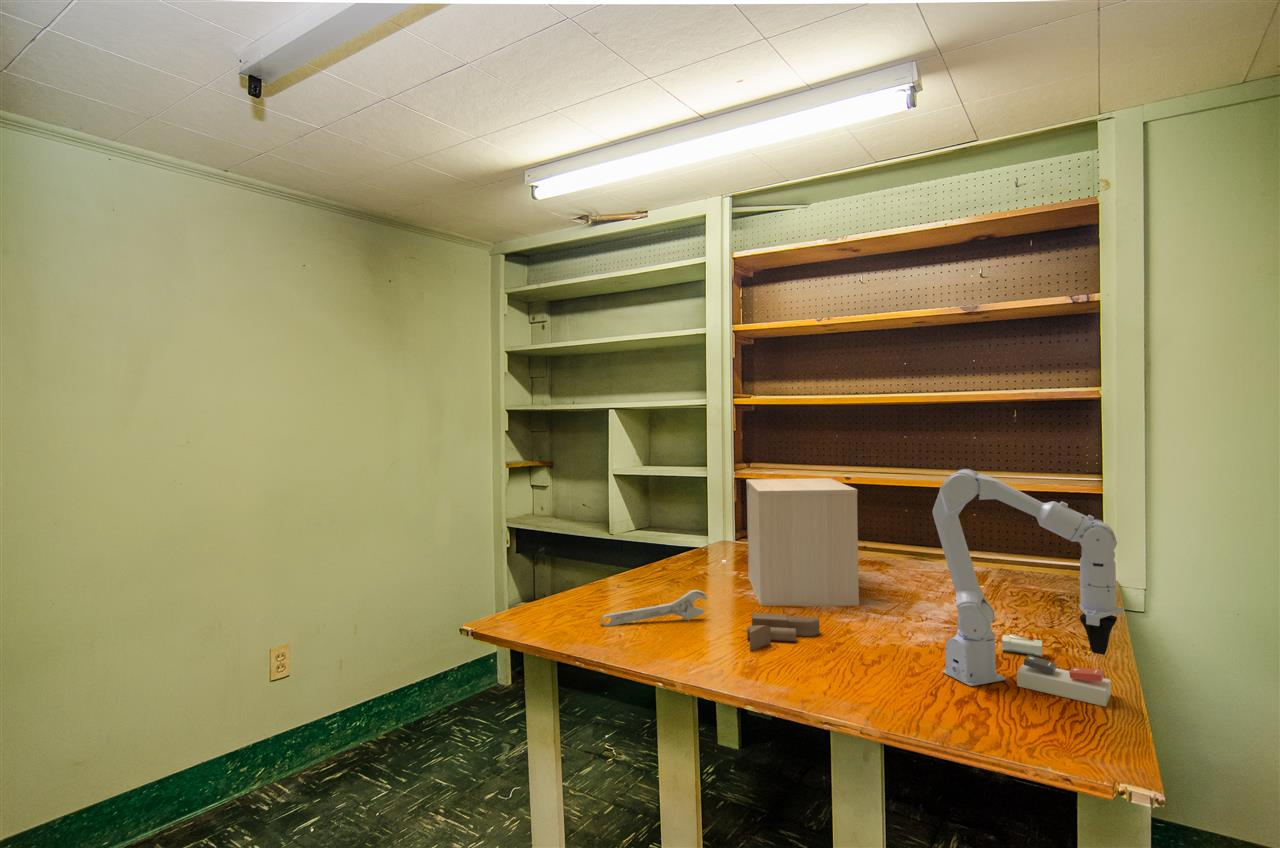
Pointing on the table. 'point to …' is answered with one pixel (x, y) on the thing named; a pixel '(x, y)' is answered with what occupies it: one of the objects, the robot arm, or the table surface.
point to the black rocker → (1040, 664)
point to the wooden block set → (779, 628)
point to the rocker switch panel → (1065, 685)
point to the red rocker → (1086, 674)
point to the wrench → (660, 610)
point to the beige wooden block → (802, 542)
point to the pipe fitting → (1021, 645)
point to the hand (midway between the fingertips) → (1098, 652)
